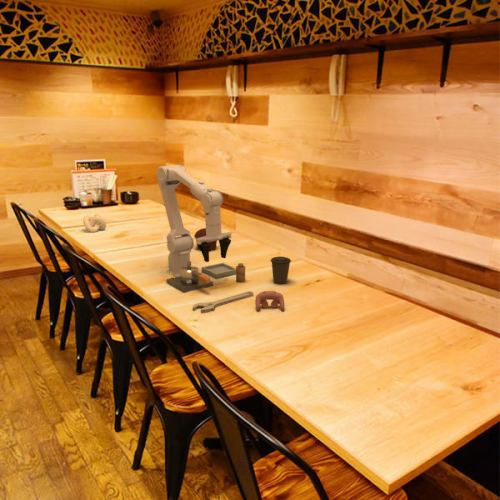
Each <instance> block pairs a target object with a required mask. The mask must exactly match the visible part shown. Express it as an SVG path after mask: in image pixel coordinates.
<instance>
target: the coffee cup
mask: <svg viewBox="0 0 500 500" xmlns="http://www.w3.org/2000/svg"><path fill="white" fill-rule="evenodd" d="M291 262H292V259H290V258H289V257H286V256H282V255H281V256H275V257H274V256H273V257H272V258H271V259H270V263H271V271H272V281H273V284H276V285H286V284H287V282H288V278H289V277H288V276H289V271H290V264H291Z"/></svg>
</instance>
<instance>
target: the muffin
mask: <svg viewBox="0 0 500 500" xmlns="http://www.w3.org/2000/svg"><path fill="white" fill-rule="evenodd" d="M204 236H206V227H205V228H200V229H198V230H197V231H196V232H195V234H194V235H193V237H194V239H195V240H196V239H197V238H201V237H204ZM217 242H218V240H217V241H212V242H207V244H208V245H210V248H209V252H213V251H216V249H217V245H218V244H217ZM196 248H197V250H198V251H199V252H201V250H200V248H199V247H198V245H197V244H196Z"/></svg>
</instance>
